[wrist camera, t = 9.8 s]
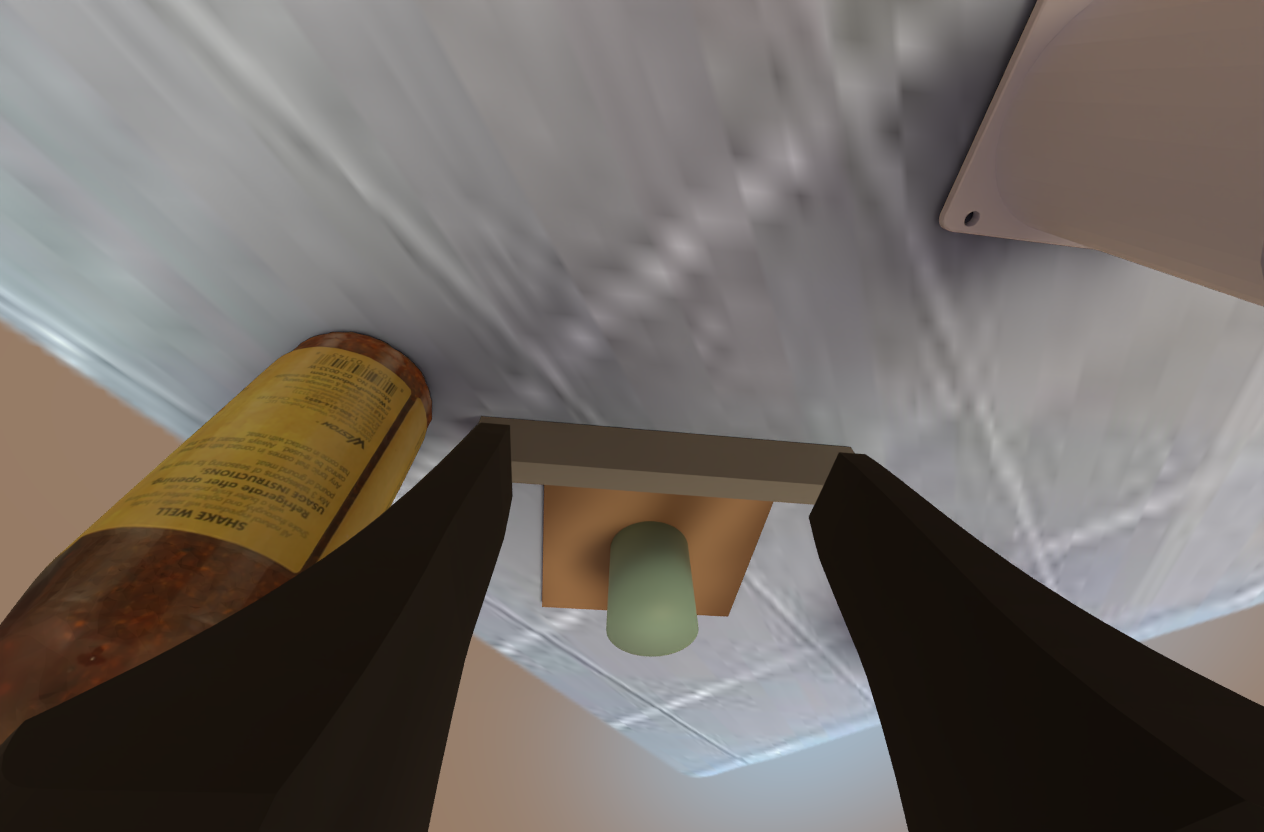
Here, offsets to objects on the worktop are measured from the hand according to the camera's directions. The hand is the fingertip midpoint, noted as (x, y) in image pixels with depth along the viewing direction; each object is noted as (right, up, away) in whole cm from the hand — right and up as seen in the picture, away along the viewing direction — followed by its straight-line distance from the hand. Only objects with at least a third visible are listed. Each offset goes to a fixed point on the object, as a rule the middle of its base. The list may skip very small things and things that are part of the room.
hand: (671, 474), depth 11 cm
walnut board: (0, -6, +17) cm, 18 cm away
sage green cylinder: (0, -6, +16) cm, 18 cm away
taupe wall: (+1, 0, +13) cm, 13 cm away
